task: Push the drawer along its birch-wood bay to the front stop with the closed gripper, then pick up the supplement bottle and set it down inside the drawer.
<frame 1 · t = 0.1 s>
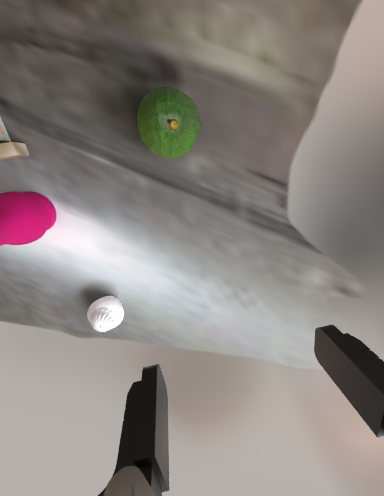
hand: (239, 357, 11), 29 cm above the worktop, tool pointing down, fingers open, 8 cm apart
pepper mill: (36, 211, 35), on the worktop
avocado: (168, 130, 33), on the worktop
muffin: (110, 301, 42), on the worktop
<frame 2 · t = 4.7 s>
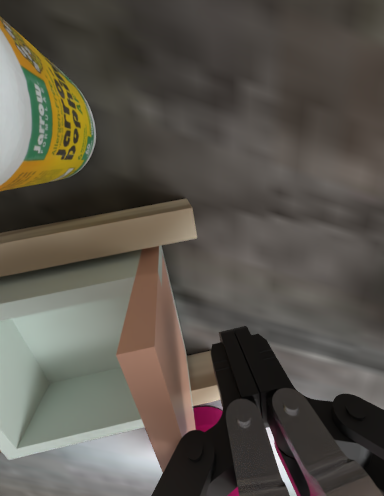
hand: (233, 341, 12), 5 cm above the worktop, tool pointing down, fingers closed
pepper mill: (198, 424, 22), on the worktop
supplement bottle: (45, 127, 11), on the worktop
bay: (27, 331, 15), on the worktop
drawer: (74, 374, 11), point 5 cm above the worktop, slide at 0.5 cm, touching gripper
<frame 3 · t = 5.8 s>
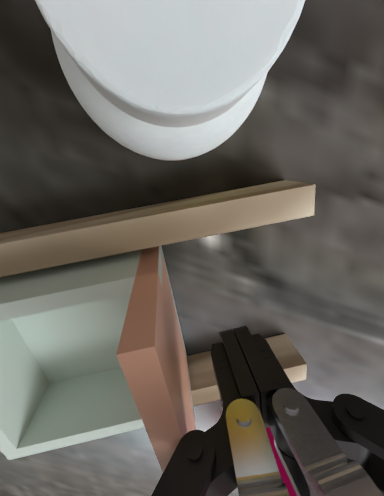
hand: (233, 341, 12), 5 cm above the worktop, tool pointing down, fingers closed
pepper mill: (259, 410, 22), on the worktop
supplement bottle: (165, 108, 12), on the worktop
bay: (117, 313, 16), on the worktop
drawer: (75, 374, 11), point 5 cm above the worktop, slide at 6.8 cm, touching gripper
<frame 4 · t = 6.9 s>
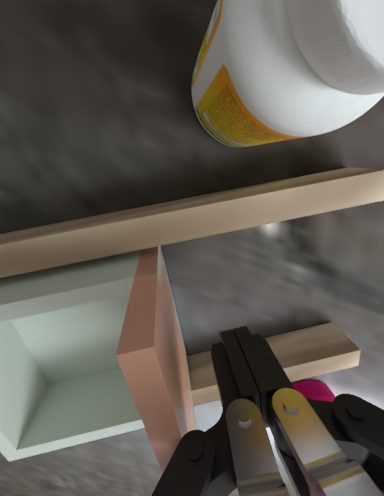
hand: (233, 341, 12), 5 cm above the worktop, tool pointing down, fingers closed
pepper mill: (299, 399, 22), on the worktop
supplement bottle: (238, 95, 12), on the worktop
bay: (174, 301, 16), on the worktop
drawer: (74, 374, 11), point 5 cm above the worktop, slide at 11.0 cm, touching bay, gripper
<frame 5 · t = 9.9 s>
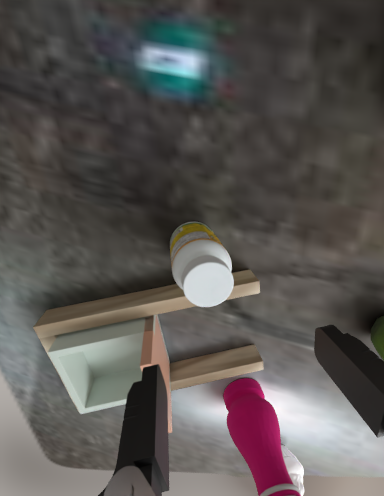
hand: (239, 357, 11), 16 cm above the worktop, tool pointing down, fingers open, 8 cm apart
pepper mill: (241, 390, 36), on the worktop
supplement bottle: (192, 242, 26), on the worktop
bay: (162, 333, 30), on the worktop
avocado: (379, 322, 34), on the worktop
drawer: (115, 372, 25), point 5 cm above the worktop, slide at 11.0 cm
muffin: (277, 448, 43), on the worktop
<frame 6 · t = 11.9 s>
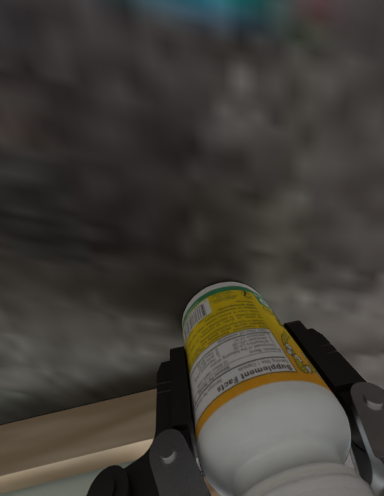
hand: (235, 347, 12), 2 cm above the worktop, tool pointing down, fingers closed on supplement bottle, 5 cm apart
supplement bottle: (222, 314, 14), on the worktop, touching gripper
bay: (169, 448, 18), on the worktop
when the fingers open (5 cm above the worktop, at t = 16.9 s): supplement bottle drops 2 cm, resting on drawer.
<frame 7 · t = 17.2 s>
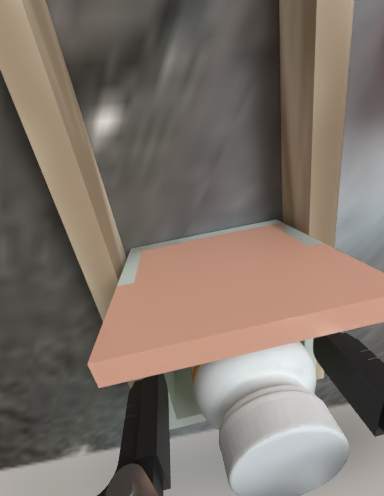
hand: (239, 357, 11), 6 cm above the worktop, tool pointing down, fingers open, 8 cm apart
supplement bottle: (217, 295, 16), point 1 cm above the worktop, touching drawer
bay: (204, 233, 15), on the worktop
drawer: (232, 346, 13), point 5 cm above the worktop, slide at 11.0 cm, touching supplement bottle
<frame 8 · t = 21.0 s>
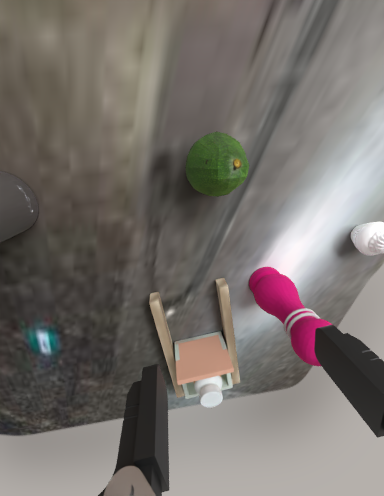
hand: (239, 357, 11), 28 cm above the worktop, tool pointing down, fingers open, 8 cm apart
pepper mill: (263, 280, 43), on the worktop
supplement bottle: (202, 354, 47), point 1 cm above the worktop, touching drawer
bay: (197, 336, 46), on the worktop
avocado: (207, 165, 34), on the worktop
drawer: (205, 373, 44), point 5 cm above the worktop, slide at 10.9 cm, touching supplement bottle
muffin: (357, 232, 42), on the worktop
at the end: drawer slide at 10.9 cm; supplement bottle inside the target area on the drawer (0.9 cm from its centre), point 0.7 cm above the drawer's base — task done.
